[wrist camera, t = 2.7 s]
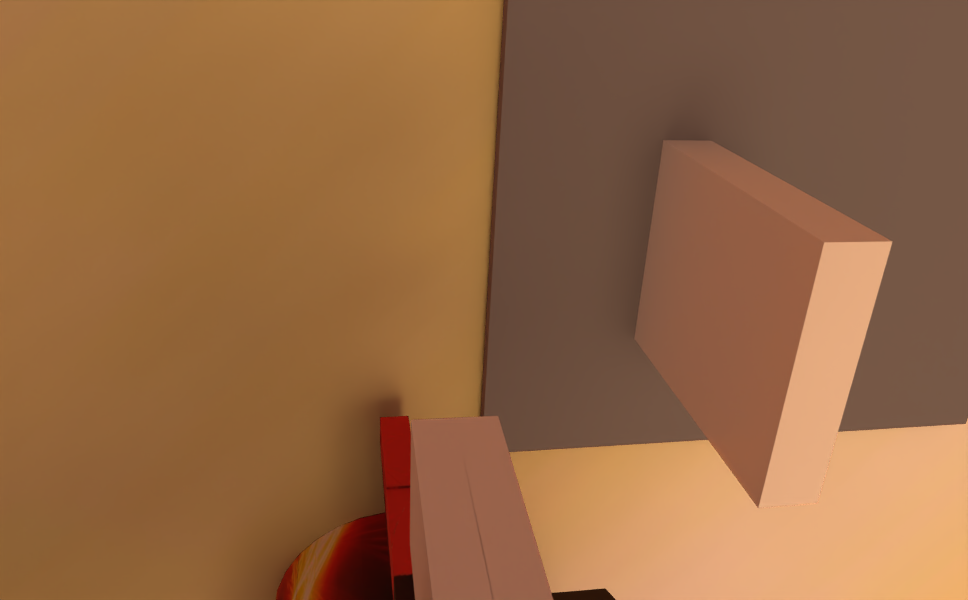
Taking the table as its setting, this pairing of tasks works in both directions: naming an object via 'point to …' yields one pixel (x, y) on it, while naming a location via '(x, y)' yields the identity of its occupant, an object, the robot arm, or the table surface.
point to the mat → (749, 134)
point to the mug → (364, 540)
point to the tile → (756, 314)
